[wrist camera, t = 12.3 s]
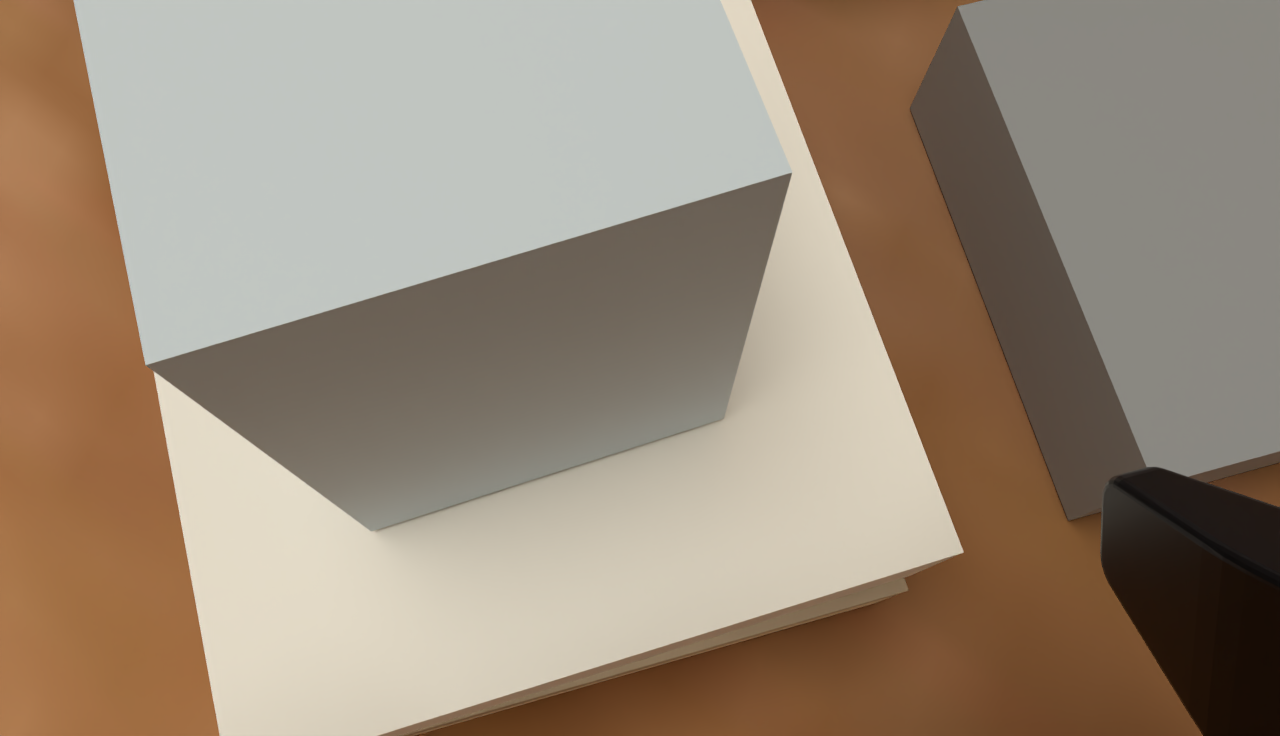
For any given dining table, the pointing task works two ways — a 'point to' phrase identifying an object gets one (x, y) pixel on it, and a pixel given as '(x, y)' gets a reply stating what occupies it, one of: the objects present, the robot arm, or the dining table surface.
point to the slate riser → (1121, 223)
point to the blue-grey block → (437, 227)
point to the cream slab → (573, 522)
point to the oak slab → (702, 646)
